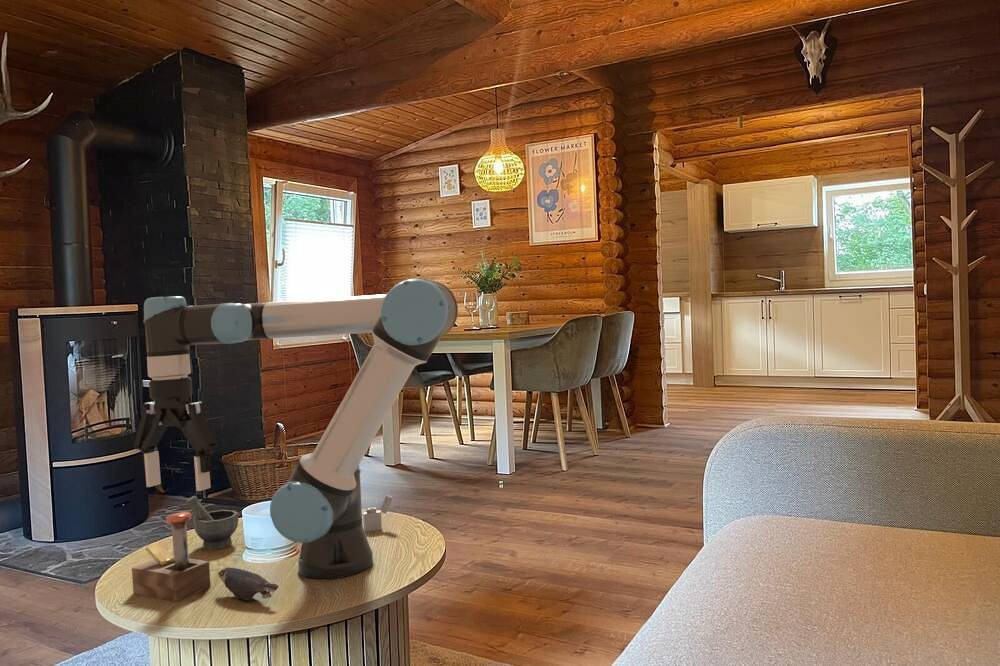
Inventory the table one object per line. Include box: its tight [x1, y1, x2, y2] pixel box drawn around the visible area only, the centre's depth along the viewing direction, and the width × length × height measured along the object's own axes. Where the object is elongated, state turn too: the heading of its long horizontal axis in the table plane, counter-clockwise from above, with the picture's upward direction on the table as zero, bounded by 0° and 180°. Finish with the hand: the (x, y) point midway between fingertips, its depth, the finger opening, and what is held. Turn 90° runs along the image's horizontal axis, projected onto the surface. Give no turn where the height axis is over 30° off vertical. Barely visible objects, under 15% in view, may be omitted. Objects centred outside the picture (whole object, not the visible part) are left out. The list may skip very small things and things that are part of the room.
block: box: [131, 555, 211, 602], centre depth 149 cm, size 12×8×5 cm, turn 64°
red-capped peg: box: [165, 511, 192, 571], centre depth 147 cm, size 4×4×15 cm
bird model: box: [217, 566, 279, 602], centre depth 143 cm, size 4×17×5 cm, turn 56°
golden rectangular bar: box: [145, 541, 174, 567], centre depth 150 cm, size 5×3×1 cm
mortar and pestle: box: [185, 495, 239, 550], centre depth 177 cm, size 11×9×12 cm
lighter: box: [362, 494, 394, 533], centre depth 184 cm, size 7×2×8 cm, turn 107°
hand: (178, 487), depth 147 cm, fingers open, 13 cm apart
